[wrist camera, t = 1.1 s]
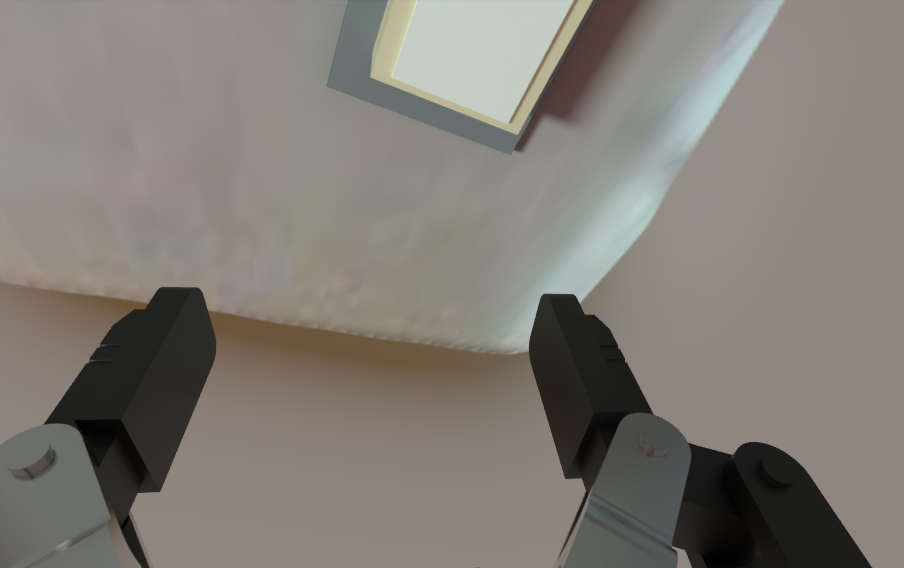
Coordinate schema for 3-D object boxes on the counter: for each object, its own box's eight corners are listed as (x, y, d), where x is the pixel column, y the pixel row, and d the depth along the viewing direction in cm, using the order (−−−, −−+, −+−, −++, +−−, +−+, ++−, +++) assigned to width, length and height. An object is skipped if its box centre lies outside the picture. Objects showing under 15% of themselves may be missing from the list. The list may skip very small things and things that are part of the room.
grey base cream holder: (328, 79, 30) (318, 117, 26) (411, -248, 20) (415, -263, 17) (508, 148, 34) (522, 188, 30) (643, -96, 25) (688, -82, 21)
